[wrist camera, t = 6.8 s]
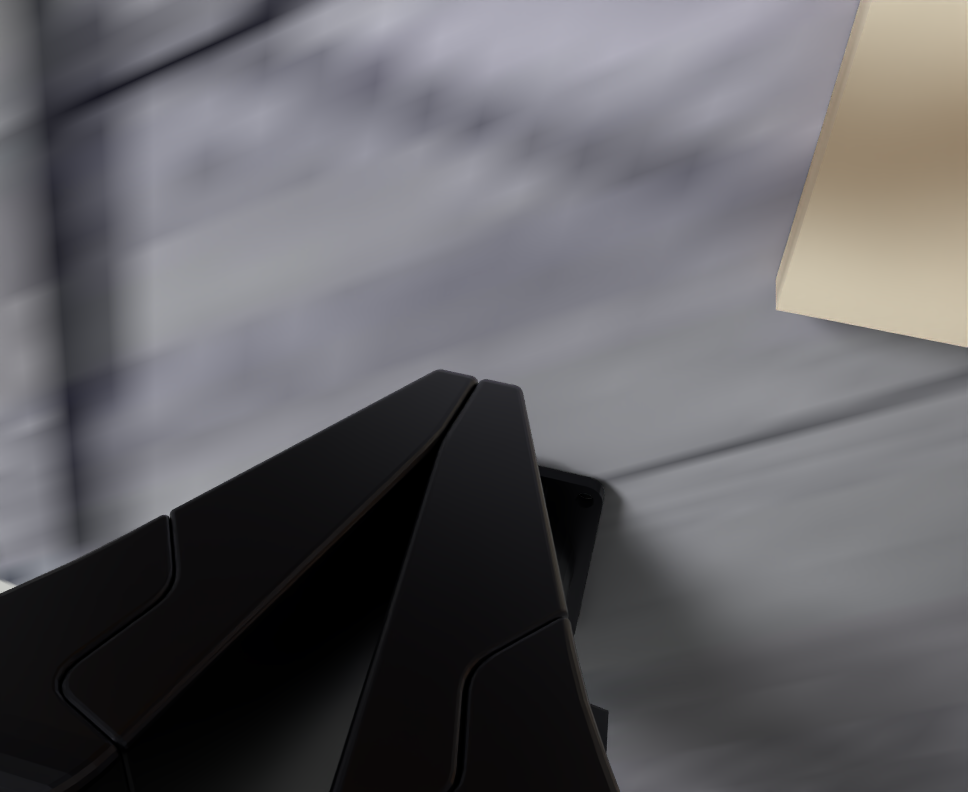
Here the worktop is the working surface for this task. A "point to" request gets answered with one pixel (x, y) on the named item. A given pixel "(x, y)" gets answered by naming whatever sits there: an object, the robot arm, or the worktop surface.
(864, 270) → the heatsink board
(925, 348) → the worktop surface
